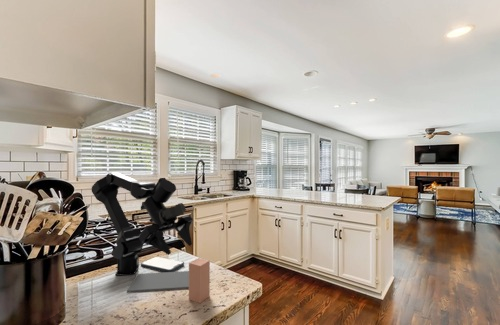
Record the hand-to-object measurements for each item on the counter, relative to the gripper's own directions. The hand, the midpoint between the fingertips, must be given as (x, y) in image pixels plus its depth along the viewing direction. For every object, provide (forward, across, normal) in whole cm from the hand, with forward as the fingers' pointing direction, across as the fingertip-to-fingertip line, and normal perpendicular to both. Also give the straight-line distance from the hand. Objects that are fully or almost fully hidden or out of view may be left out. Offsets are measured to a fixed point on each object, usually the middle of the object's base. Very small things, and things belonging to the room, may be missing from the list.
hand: (180, 249), depth 80 cm
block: (+15, 0, +4) cm, 16 cm away
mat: (+3, +2, +16) cm, 16 cm away
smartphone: (-5, +10, +25) cm, 27 cm away
